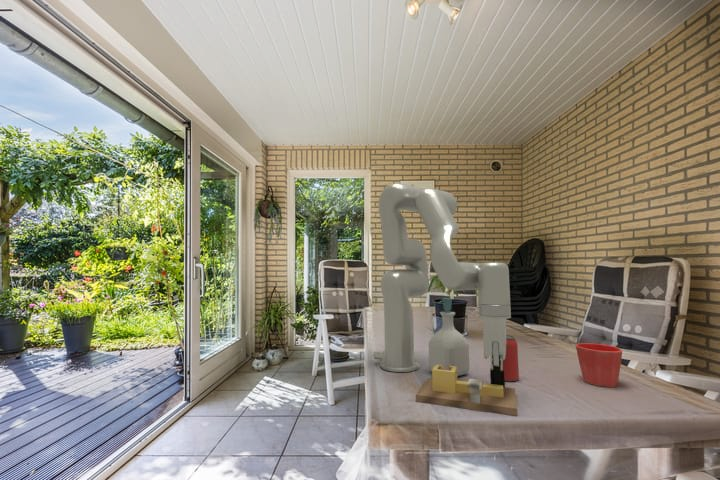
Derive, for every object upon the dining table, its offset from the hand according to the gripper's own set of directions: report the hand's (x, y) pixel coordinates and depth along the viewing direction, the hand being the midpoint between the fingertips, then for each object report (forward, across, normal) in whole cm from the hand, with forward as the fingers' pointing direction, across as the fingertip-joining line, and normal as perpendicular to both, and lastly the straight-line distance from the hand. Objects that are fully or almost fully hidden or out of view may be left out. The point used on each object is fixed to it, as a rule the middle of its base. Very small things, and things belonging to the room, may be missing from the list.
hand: (497, 386), depth 85 cm
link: (+1, +4, -7) cm, 8 cm away
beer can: (+3, -16, +2) cm, 16 cm away
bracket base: (+2, +4, -7) cm, 8 cm away
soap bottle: (+3, -15, -14) cm, 21 cm away
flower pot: (+3, -22, +26) cm, 34 cm away
